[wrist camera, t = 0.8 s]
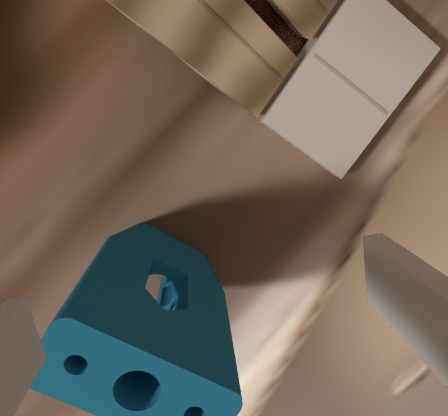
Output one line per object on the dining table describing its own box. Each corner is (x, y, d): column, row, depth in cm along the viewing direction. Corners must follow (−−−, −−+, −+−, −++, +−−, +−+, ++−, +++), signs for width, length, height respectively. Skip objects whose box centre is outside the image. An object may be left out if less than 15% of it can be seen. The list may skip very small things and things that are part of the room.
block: (223, 263, 42) (248, 398, 22) (200, 299, 42) (206, 459, 23) (124, 211, 39) (56, 311, 20) (102, 251, 40) (17, 383, 21)
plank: (77, -23, 26) (82, -22, 24) (127, -112, 25) (135, -117, 23) (246, 111, 38) (257, 118, 36) (285, 54, 36) (298, 58, 35)
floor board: (253, 117, 38) (257, 117, 36) (347, -19, 35) (357, -27, 33) (334, 175, 40) (341, 179, 38) (427, 51, 37) (441, 48, 35)
